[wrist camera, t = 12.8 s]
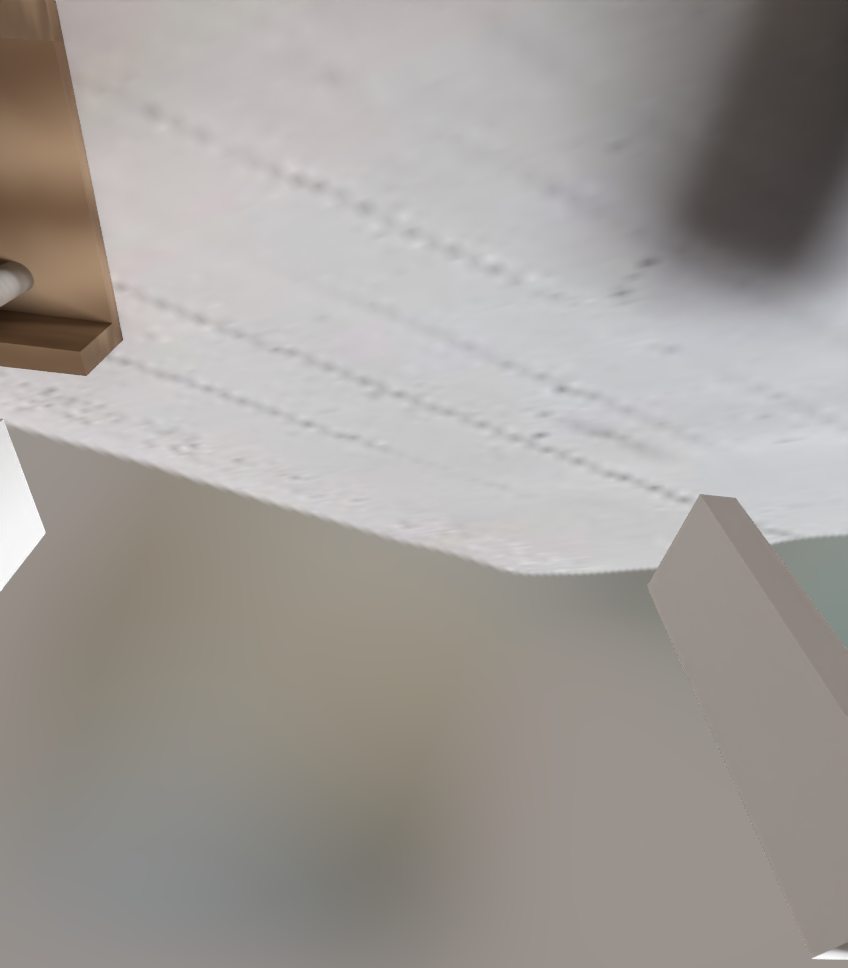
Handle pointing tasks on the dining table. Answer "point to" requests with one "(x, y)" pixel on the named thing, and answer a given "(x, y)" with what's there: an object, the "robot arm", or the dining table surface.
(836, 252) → the dining table surface
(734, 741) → the robot arm
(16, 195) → the peg frame
